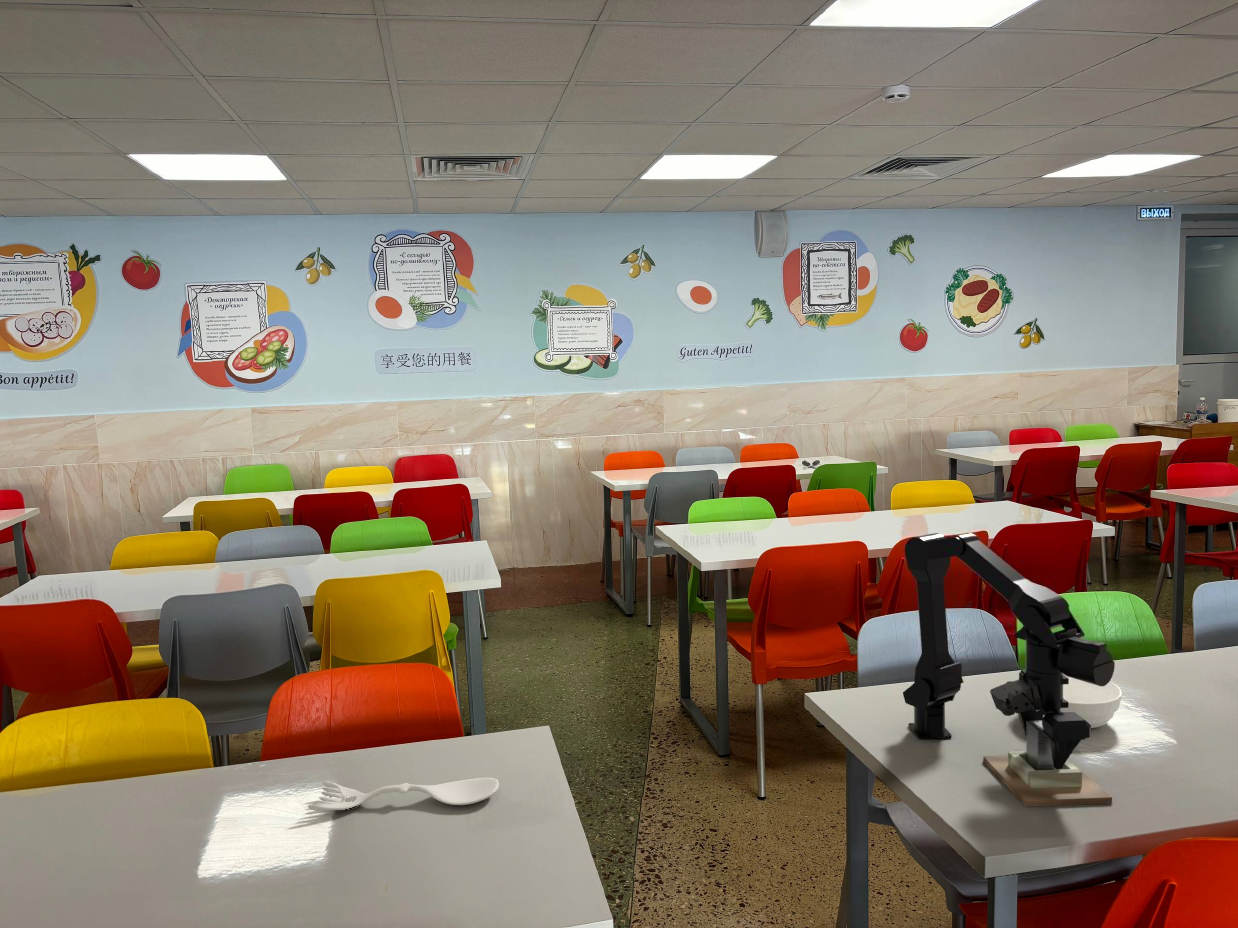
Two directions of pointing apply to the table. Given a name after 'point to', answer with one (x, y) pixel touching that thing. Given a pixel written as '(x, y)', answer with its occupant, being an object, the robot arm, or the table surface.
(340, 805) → the white spork
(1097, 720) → the bowl
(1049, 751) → the grey tall block
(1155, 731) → the table surface
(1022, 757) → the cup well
